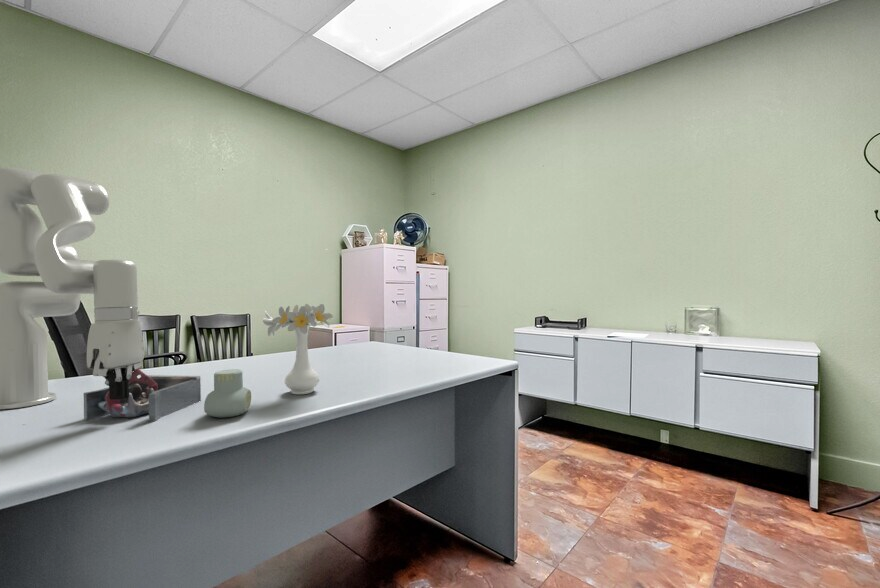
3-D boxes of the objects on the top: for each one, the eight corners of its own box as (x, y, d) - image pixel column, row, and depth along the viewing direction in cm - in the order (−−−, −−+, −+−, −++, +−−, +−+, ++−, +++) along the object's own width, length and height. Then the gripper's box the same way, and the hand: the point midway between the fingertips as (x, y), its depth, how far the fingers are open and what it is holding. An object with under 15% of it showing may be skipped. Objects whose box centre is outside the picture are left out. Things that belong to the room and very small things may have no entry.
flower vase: (267, 389, 116) (266, 303, 116) (332, 384, 121) (331, 302, 121) (261, 401, 104) (259, 305, 103) (334, 395, 109) (333, 303, 109)
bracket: (82, 420, 90) (81, 390, 90) (142, 399, 106) (142, 375, 106) (153, 421, 88) (153, 391, 88) (204, 401, 104) (203, 375, 104)
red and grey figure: (125, 411, 86) (103, 366, 89) (100, 438, 89) (80, 393, 92) (176, 398, 97) (155, 358, 100) (152, 423, 100) (133, 383, 103)
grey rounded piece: (216, 409, 98) (215, 368, 97) (253, 406, 100) (252, 366, 100) (201, 423, 87) (200, 377, 87) (243, 420, 89) (242, 375, 89)
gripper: (130, 314, 96) (133, 390, 96) (66, 318, 81) (69, 408, 82) (159, 313, 96) (161, 390, 96) (100, 317, 81) (103, 408, 81)
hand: (119, 398), depth 89 cm, fingers closed
